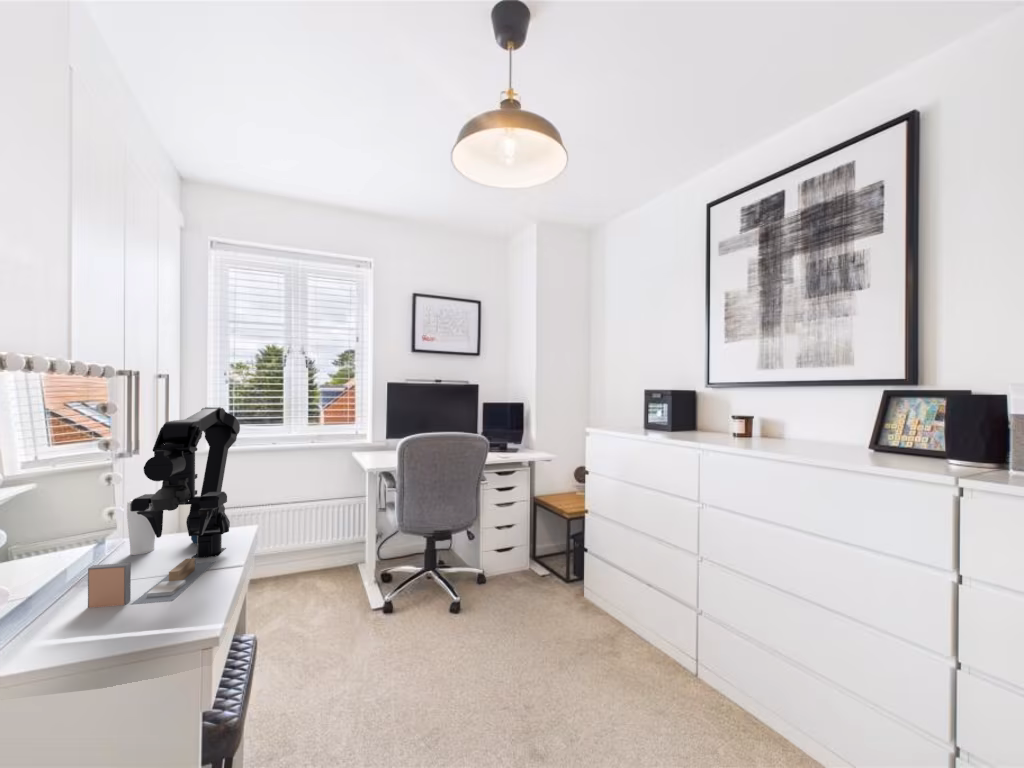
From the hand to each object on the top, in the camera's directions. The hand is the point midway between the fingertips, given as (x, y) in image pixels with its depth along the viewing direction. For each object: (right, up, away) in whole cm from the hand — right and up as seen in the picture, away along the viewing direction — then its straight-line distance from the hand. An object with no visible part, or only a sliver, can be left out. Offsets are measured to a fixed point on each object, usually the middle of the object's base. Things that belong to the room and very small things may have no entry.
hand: (180, 536), depth 110 cm
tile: (-6, -11, -13) cm, 18 cm away
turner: (0, -10, -1) cm, 10 cm away
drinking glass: (-23, -11, +17) cm, 31 cm away
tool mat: (0, -11, -1) cm, 11 cm away
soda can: (-12, -11, +27) cm, 31 cm away
